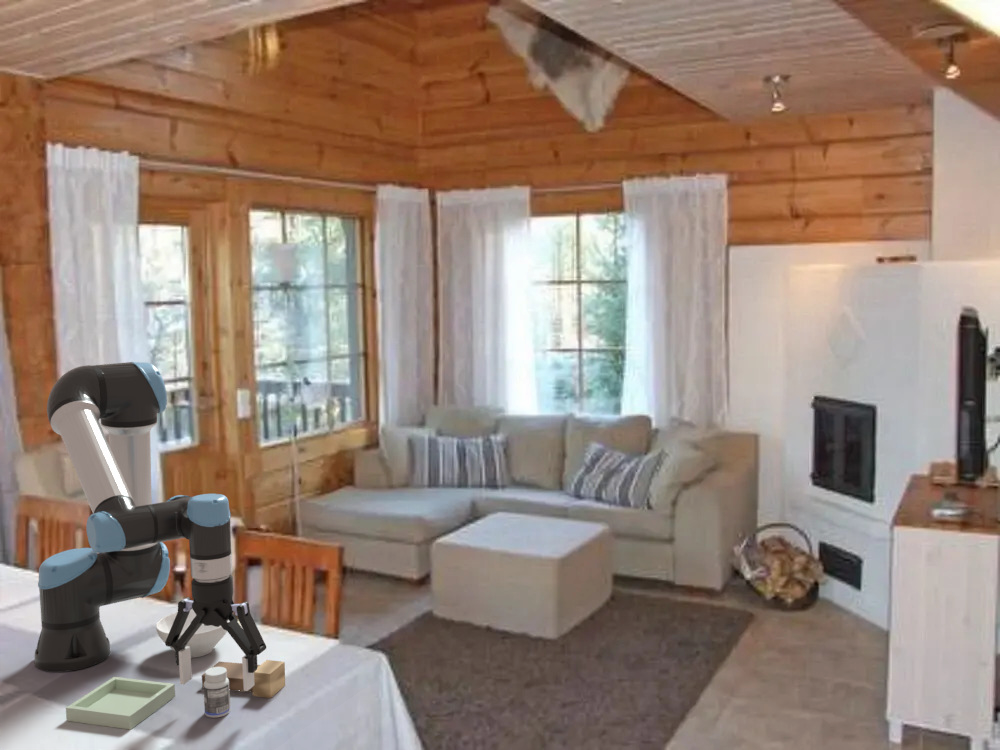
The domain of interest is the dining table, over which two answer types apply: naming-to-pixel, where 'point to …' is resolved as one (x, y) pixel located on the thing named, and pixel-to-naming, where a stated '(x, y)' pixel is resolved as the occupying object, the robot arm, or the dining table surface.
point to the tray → (120, 702)
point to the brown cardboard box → (232, 675)
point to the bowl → (200, 640)
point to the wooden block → (269, 678)
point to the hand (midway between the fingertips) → (217, 685)
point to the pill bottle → (216, 692)
